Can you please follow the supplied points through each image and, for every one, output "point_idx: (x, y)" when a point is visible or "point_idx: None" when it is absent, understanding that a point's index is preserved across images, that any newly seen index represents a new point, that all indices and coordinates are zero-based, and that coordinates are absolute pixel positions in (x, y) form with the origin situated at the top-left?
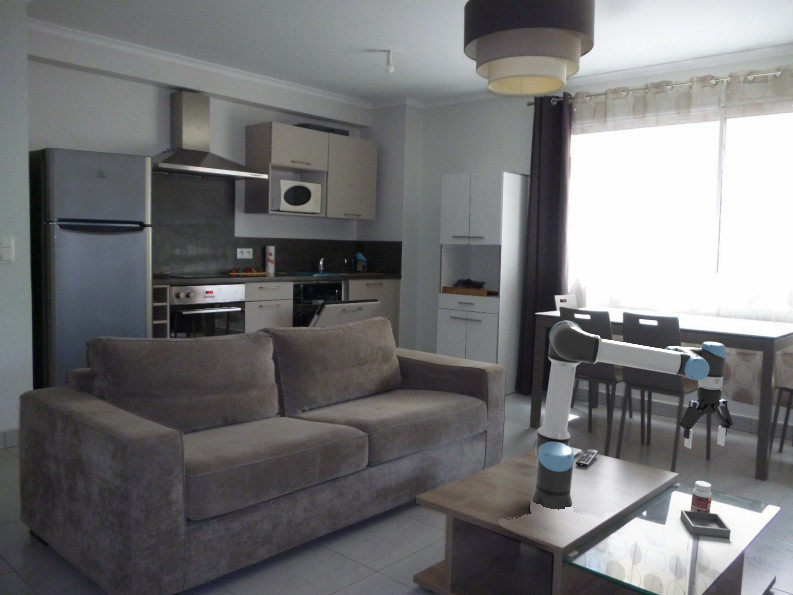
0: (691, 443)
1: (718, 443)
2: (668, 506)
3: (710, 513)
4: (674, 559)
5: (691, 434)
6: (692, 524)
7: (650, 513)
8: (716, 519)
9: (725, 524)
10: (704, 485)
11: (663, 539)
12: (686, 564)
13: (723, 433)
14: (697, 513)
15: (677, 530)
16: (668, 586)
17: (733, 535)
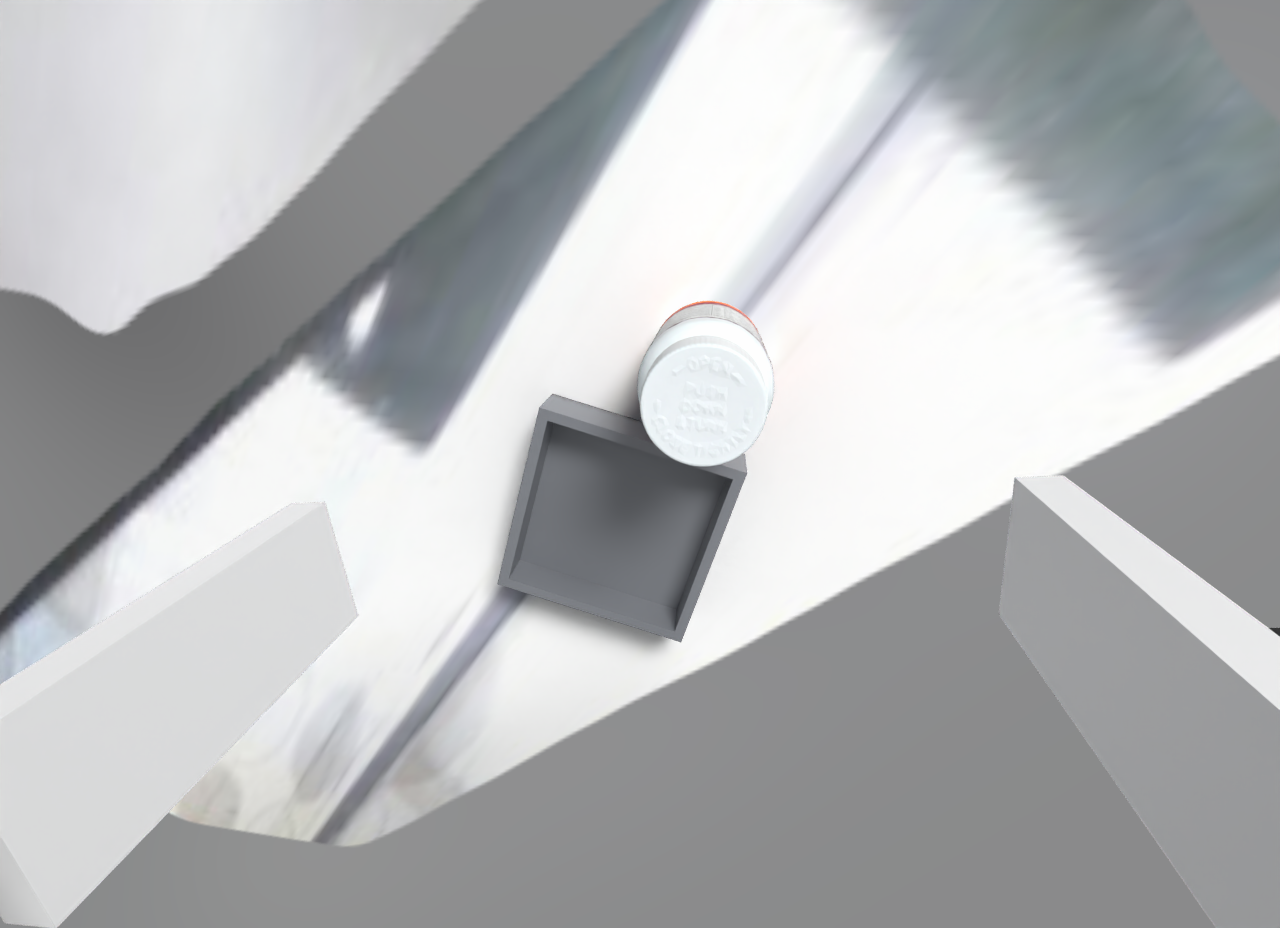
0: (305, 667)
1: (1017, 526)
2: (562, 234)
3: (701, 467)
4: (337, 711)
5: (136, 820)
6: (507, 570)
7: (400, 325)
8: (728, 479)
9: (697, 589)
10: (690, 440)
11: (356, 581)
12: (369, 743)
13: (1161, 836)
14: (627, 443)
15: (463, 516)
16: (253, 825)
17: (730, 589)
